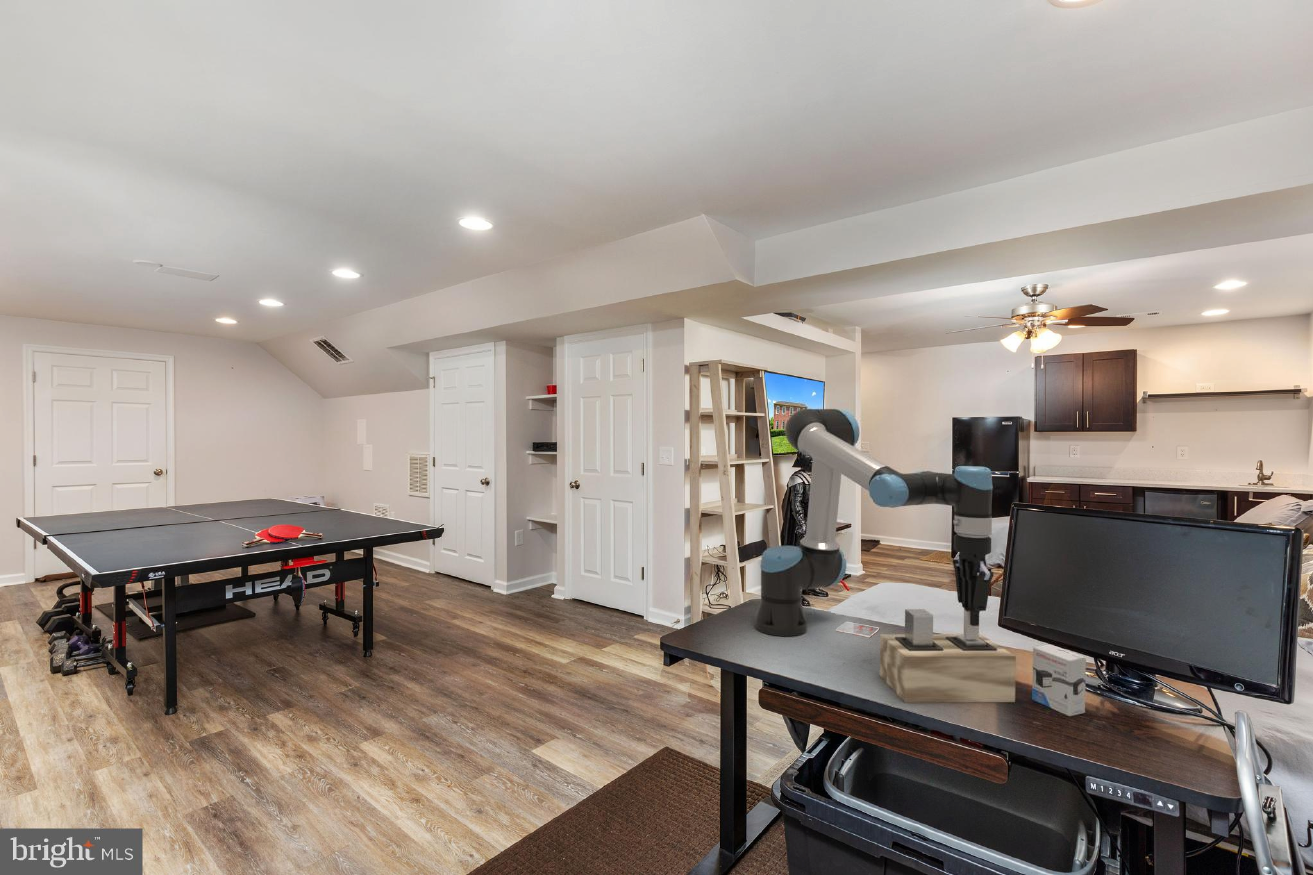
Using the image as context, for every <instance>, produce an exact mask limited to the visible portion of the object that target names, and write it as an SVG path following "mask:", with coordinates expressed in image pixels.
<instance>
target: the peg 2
mask: <svg viewBox="0 0 1313 875" xmlns="http://www.w3.org/2000/svg"><path fill="white" fill-rule="evenodd" d="M956 641H957V642H958V643H960V644H961V645H963V646H964V647H986V642H984V641H983V640H981V639H980V638H979V639H966V638H964V636H956Z"/></svg>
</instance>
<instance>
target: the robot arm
mask: <svg viewBox="0 0 1313 875" xmlns="http://www.w3.org/2000/svg"><path fill="white" fill-rule="evenodd" d="M784 432H785V437H786V440H787V441H788V443H789V444H790V446H792V448H794V449H795V450H796V451H797V452H800V453H801V454H802V455H804V456H810V457H811V458H812V463H811V464H812V466H811V474H810V475H811V476H810V487H809V497H808V498H809V500H808V509H807V520H806V531H805V536H804V537H803V538H802V539H800V540H799V541H800V543H799V546H795V545H777V546H773V547H770V548H766V550H764V551H762V555H761V562H760V569H761V570H760V574H761V575H760V601H759V602H760V603H759V605H758V608H757V611H756V614H755V617H754V628H755V629H756V630H757V631H759V632H761V633H763V634H766V635H771V636H779V637H794V636H796V637H797V636H800V635H803V634H805V633H806V632H807V631H808V620H807V617H806V613H805V611H804V608H803V603H802V591H803V590H804V591H805V590H811V589H820V588H828V587H831V586H835V585H837V584H838V583H840V582H841V581H842V580H843V579H844V577H845V574H846V571H847V560H846V558H844V557H845V554H844V553H843V551H842V550H841V549H840V547H841V545H840V544H839V542H837V540H836V535H837V534H836V533H837V526H838V515H839V514H838V512H839V503H840V493H841V492H840V491H841V482H842V475H843V476H844V477H846V478H847V479H849V480H851V481H852V482H854V483H855V484H856V485H859V486H861V487H862V488H863V489H865V490H867V492H868V495H869V497H870V498H871V499H872V502H873V503H874V504H876V505H877V506H879V507H882V508H900V507H908V506H911V507H912V506H922V505H924V506H925V505H943V506H951V507H953V508H954V510H953V511H954V519H953V523H952V524H953V525H954V532H955V535H953V549H954V550H955V551H956V552H958V553H959V554H958V558H957V559H952V565H953V569H954V576H955V586H956V594H957V595H956V596H957V601H958V603H959V604H960V603H961V606H962V607H961V608H963V634H964V638H966V639H979V634H980V613H981V612H983V611H985V612H986V611H987V606H988V601H989V594H990V589H991V588H990V587H991V582H992V579H993V577H994V572H993V571H992V570H988V569H987V560H986V556H987V555H990V554H991V552H992V537H991V536H990V535H992V533H993V532H992V531H993V530H992V526H993V525H992V521H993V520H992V519H993V517H992V503H993V502H992V500H993V488H994V487H993V478H992V477H993V476H992V471H991V469H990V468H988V467H986V466H977V465H976V466H974V465H973V466H972V465H961V466H956V467H955V468H954V473H945V472H934V471H931V470H927V471H926V470H925V471H923V470H922V471H921V470H920V471H915V472H914V473H913V472H912V473H903V472H899V471H898V470H896V469H894V468H892V467H890V466H888V465H886V464H885V463H883V462H882V461H880V460H878V459H876V458H875V457H873V456H871V455H869V454H868V453H866V452H864V451H862V450H861V449H858V448H857V447H855V446H856V444H857V443H858V441H859V439H860V426H859V423H858V420H857V419H856V418H855V416H854V415H853V414H852V413H851V412H849V411H847V410H844V409H837V408H803V409H800V410H797V411H796V412H794V413H793V414H792V415H790V417H789V418H788V419H787V422H786V424H785V430H784Z"/></svg>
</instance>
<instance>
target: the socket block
mask: <svg viewBox="0 0 1313 875" xmlns="http://www.w3.org/2000/svg"><path fill="white" fill-rule="evenodd" d="M956 636H964V633H933V647H911V646H909V645H908V644H907V643H906V642H905V633H880V634H879V677H881V679H882V680H883V681H884V682H885V683H886V685H888V686H889V687H890V688H891V689H892V690H893V691H894V693H896V694H897V696H898V697H899V698H900V699H901V700H902V701H903V702H904V703H906V704H907V703H908V704H909V703H913V704H914V703H915V704H916V703H1015V702H1016V671H1017V670H1016V669H1017V668H1016V664H1017V663H1016V661H1017V656H1016V655H1014V654H1013V653H1012V652H1010V651H1008V650H1007V649H1005V648H1003V647H1002V646H1000V645H999V644H997V643H995V642H994V641H993V640H991V639H989V638H987V637H986V636H984V635H982V633H979V638H980V639H981V640H983V641H984V642H986V647H964V646H963V645H961V644H960V643H958V642H957V641H956Z"/></svg>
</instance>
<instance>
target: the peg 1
mask: <svg viewBox="0 0 1313 875" xmlns="http://www.w3.org/2000/svg"><path fill="white" fill-rule="evenodd" d="M904 634H905V642H906V643H907V644H908V645H909V646H911V647H933V634H934V614H932V613H930V612H929V611H928V610H926V609H924V608H922V609H920V608H919V609H918V608H917V609H916V608H913V609H912V608H911V609H908V608H906V609H904Z"/></svg>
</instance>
